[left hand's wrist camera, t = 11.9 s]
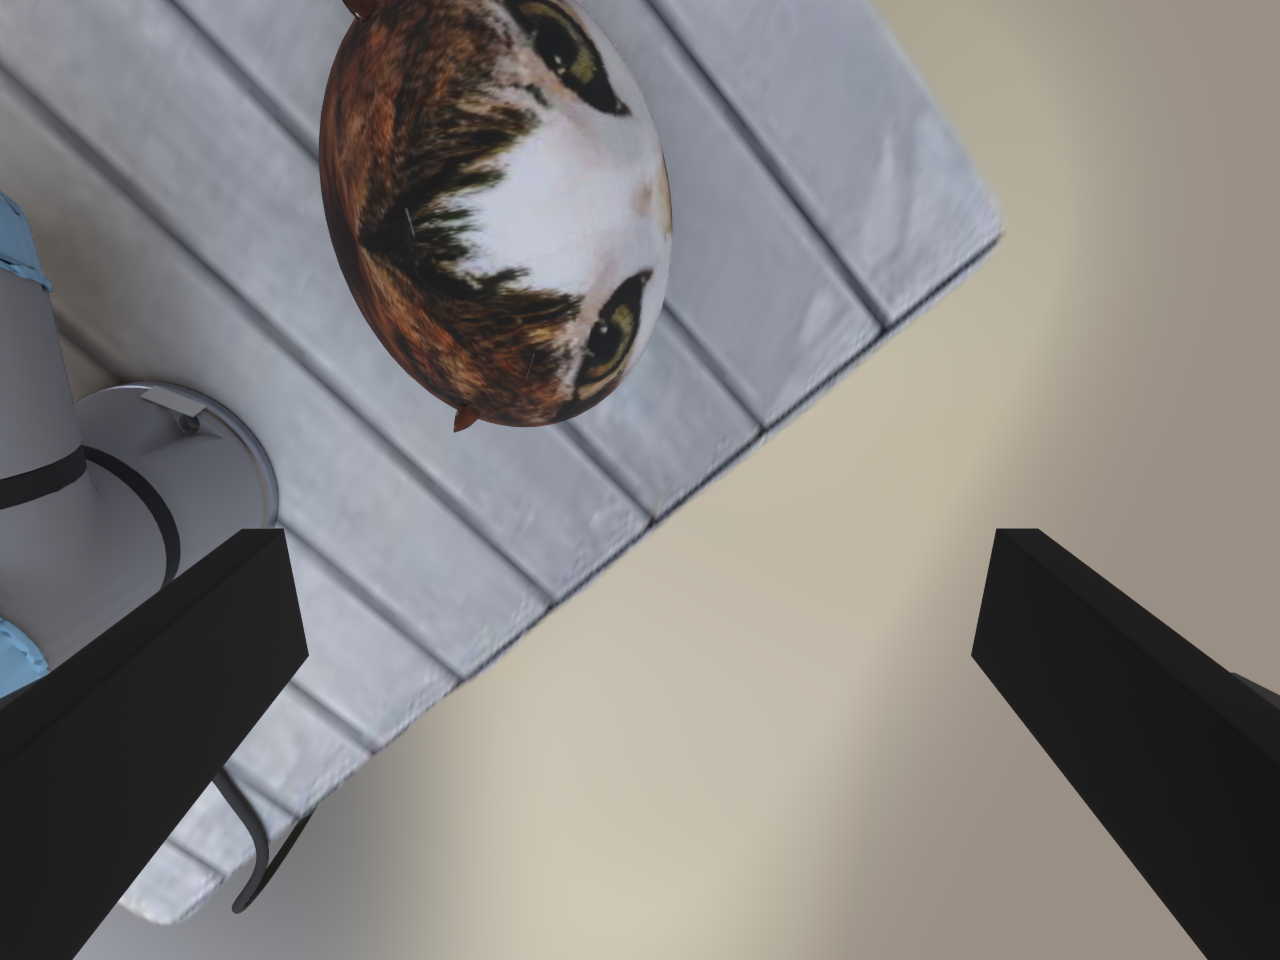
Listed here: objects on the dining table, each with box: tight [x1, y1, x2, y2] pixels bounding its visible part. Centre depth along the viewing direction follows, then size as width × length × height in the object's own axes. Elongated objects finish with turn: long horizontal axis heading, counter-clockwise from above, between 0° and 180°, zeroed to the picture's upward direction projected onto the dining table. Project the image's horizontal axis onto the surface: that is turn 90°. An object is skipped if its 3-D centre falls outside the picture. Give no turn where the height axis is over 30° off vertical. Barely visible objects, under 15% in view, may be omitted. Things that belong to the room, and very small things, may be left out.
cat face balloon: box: [319, 0, 672, 432], centre depth 37 cm, size 22×18×20 cm
